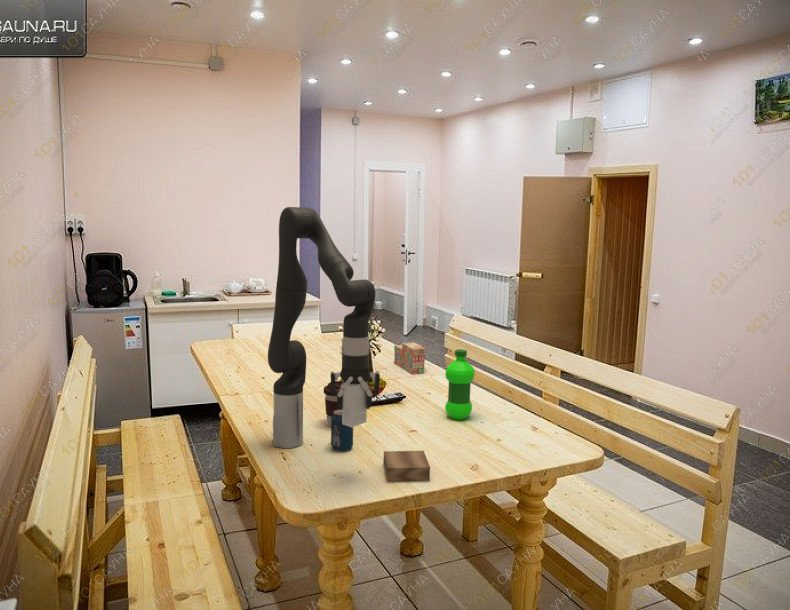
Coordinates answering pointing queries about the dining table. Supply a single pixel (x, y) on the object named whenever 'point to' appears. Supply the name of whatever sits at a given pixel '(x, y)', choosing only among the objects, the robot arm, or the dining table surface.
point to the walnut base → (406, 466)
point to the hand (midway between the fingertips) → (354, 408)
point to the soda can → (340, 433)
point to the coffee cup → (331, 400)
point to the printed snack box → (410, 357)
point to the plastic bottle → (459, 386)
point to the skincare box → (354, 405)
